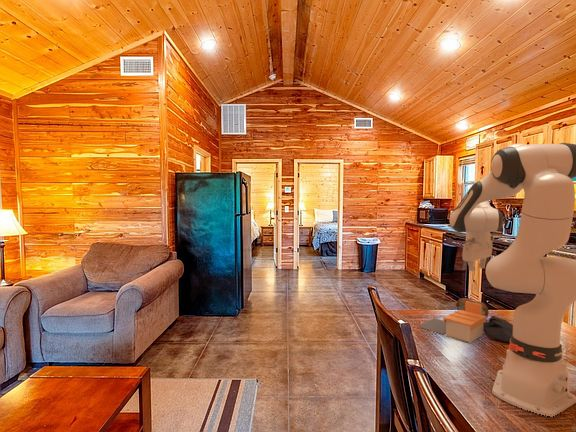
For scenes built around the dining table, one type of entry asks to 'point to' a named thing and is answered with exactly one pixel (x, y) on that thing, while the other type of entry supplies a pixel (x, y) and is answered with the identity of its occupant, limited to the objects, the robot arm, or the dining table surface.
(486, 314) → the brown arch piece
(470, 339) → the tub
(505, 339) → the dark slate chunk
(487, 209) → the robot arm
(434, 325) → the mat
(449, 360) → the dining table surface
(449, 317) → the lid
